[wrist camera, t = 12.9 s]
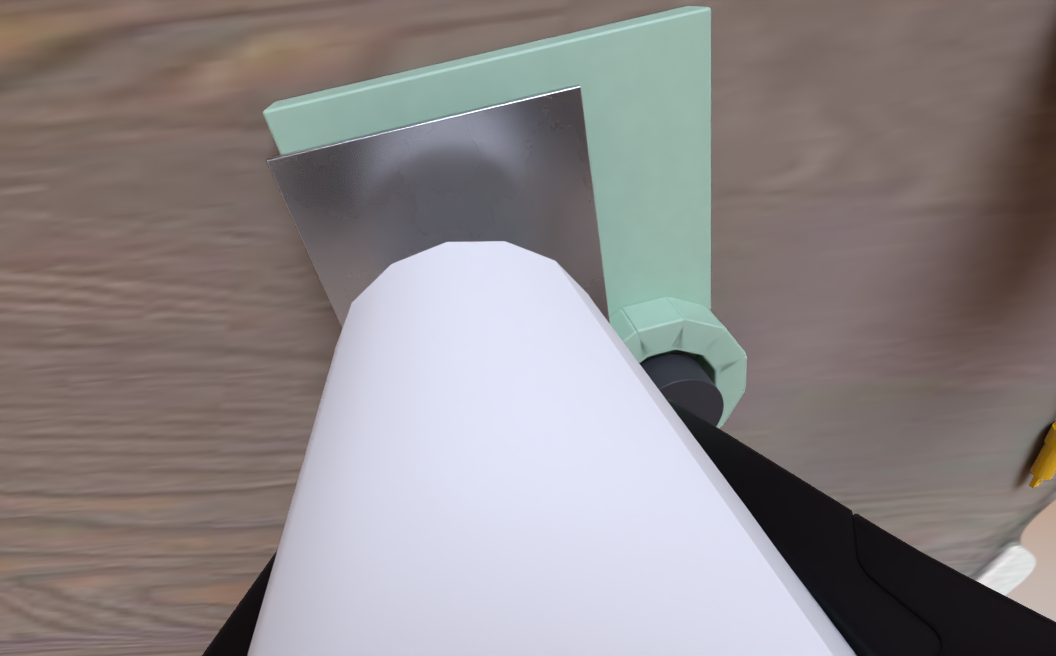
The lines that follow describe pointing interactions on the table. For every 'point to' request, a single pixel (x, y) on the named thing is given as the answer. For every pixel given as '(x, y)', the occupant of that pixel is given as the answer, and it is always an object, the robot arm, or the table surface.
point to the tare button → (686, 384)
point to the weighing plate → (449, 192)
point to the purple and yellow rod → (1045, 459)
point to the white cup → (514, 489)
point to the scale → (592, 161)
